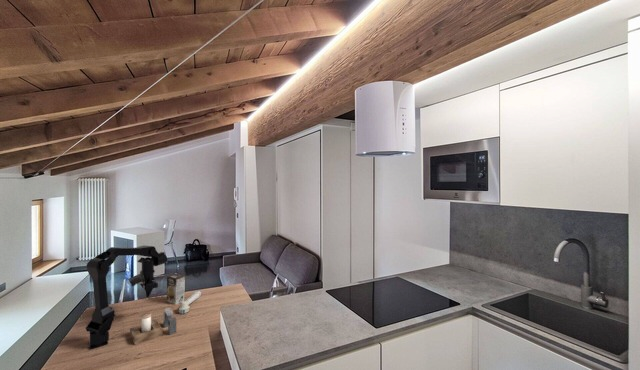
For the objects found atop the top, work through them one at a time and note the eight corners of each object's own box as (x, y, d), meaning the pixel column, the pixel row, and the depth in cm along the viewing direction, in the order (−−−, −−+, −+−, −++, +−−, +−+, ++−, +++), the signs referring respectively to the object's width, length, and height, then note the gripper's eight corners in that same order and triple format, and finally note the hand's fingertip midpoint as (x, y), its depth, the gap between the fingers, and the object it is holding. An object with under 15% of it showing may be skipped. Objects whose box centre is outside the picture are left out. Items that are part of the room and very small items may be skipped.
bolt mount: (169, 334, 137) (169, 320, 137) (163, 325, 145) (163, 312, 145) (176, 332, 139) (176, 318, 139) (169, 323, 147) (169, 310, 147)
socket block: (134, 344, 128) (134, 338, 128) (130, 334, 137) (130, 328, 137) (162, 335, 136) (162, 329, 136) (156, 326, 145) (156, 320, 145)
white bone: (202, 290, 183) (187, 301, 158) (202, 300, 182) (186, 313, 157) (194, 290, 183) (177, 301, 158) (193, 300, 182) (176, 314, 157)
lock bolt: (168, 316, 140) (168, 312, 140) (164, 312, 145) (165, 308, 145) (172, 315, 142) (172, 311, 142) (169, 311, 146) (169, 307, 146)
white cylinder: (142, 338, 134) (142, 317, 134) (140, 334, 137) (140, 314, 137) (151, 335, 137) (152, 315, 136) (149, 331, 140) (150, 312, 139)
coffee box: (166, 301, 174) (166, 276, 173) (175, 297, 179) (175, 273, 179) (175, 305, 169) (175, 278, 169) (184, 301, 175) (185, 275, 175)
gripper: (127, 267, 153) (127, 295, 154) (133, 276, 140) (133, 307, 140) (150, 263, 161) (150, 290, 161) (158, 271, 147) (158, 301, 147)
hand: (147, 296), depth 152 cm, fingers closed
